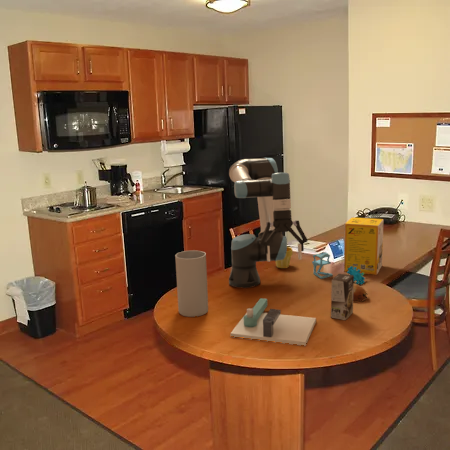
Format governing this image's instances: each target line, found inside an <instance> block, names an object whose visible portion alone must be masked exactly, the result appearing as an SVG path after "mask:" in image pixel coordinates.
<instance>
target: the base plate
mask: <svg viewBox="0 0 450 450" xmlns="http://www.w3.org/2000/svg"><path fill="white" fill-rule="evenodd" d="M267 313H268V312H263V313H262V314H261V316H260V317H259V318H258V320H257V325H256V326H254V327H247V326H244V316H245V315H247V312H246V313H245V314H244V315H243V317H242V318H241V319H240V320H239V322H237V323H236V325H235V327H234V328H233V329H232V331H231V332H230V337H231V336H234V337H233V338H235V337H244V338H251V339H250V340H252V339H260V340H267V341H266V342H268V341H275V342H274V343H276V342H282V343H281V344H285V343H289V344H288V345H293V344H297V345H296V346H301V345H304V346H303V347H306V346H307V344H308V342H309V338H310V337H311V334H312V332H313V330H314V327H315V325H316V322H317V317H310V316H309V317H308V316H300V315H299V316H298V315H290V314H280V315H279V317H278V319H277V320H276V322H275V323H274V325H273V336H272V337H263V319H264V317H265V316H266V315H267ZM260 340H259V341H260ZM306 343H307V344H306Z"/></svg>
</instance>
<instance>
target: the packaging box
mask: <svg viewBox="0 0 450 450" xmlns="http://www.w3.org/2000/svg"><path fill="white" fill-rule="evenodd" d="M343 241H344V242H343V244H344V247H343V272H346V273H347V272H348V271H349V270H348V268H350V267H351V266H352V267H353V270H354V267H356V268H357V269H356V271H357V270H358V269H360V272H359V273H363V272H364V275H374V276H377V275H378V273H379V272H380V271H381V270H380V269H381V268H382V266H383V250H384V249H383V246H384V219H383V218H371V217H370V218H367V217H354V216H353V217H350V218H349V219H348V220H347V221H346V222H345V223H344V239H343Z"/></svg>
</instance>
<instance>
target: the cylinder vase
mask: <svg viewBox="0 0 450 450" xmlns="http://www.w3.org/2000/svg"><path fill="white" fill-rule="evenodd" d="M206 254H207V253H206V252H205V251H201V250H184V251H183V250H182V251H181V252H177V253H176V254H175V255H174V257H175V272H176V273H175V275H176V276H175V277H176V288H177V290H176V291H177V307H178V308H177V309H178V314H180V315H181V316H183V317H189V318H195V316H197V317H201V316H204V315H205V314H206V313H208V312H209V296H208V271H207V270H208V269H207V255H206Z"/></svg>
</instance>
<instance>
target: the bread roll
mask: <svg viewBox="0 0 450 450" xmlns="http://www.w3.org/2000/svg"><path fill="white" fill-rule="evenodd" d="M367 295H369V294H368V292H367V291H366V290H365V288H364V287H362V285H360V284H356V283H354V284H353V302H363V301H366V299H368V296H367Z"/></svg>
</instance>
